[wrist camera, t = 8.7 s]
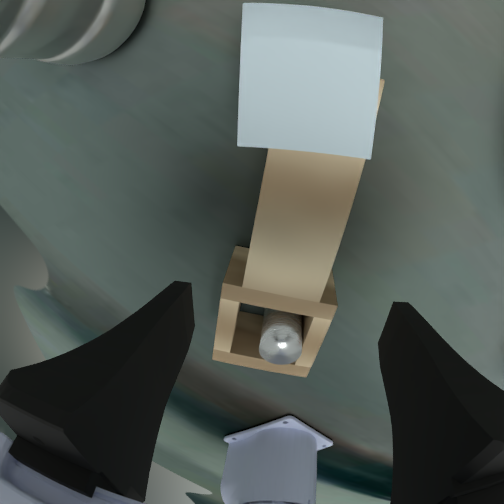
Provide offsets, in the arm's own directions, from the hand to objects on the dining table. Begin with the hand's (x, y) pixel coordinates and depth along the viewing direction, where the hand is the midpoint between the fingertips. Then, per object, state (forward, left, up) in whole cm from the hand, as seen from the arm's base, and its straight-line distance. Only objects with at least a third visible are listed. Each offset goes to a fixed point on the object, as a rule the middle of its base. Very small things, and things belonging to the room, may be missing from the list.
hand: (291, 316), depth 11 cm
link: (0, 0, -8) cm, 8 cm away
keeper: (+6, +6, -8) cm, 12 cm away
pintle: (-4, -4, -8) cm, 10 cm away
